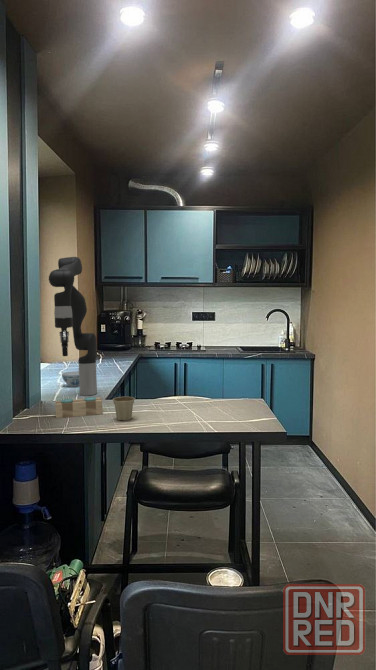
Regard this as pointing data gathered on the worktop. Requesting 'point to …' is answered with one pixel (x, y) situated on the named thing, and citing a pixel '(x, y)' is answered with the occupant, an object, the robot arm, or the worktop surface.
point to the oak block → (78, 408)
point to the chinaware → (71, 378)
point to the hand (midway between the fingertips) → (65, 356)
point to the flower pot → (124, 407)
